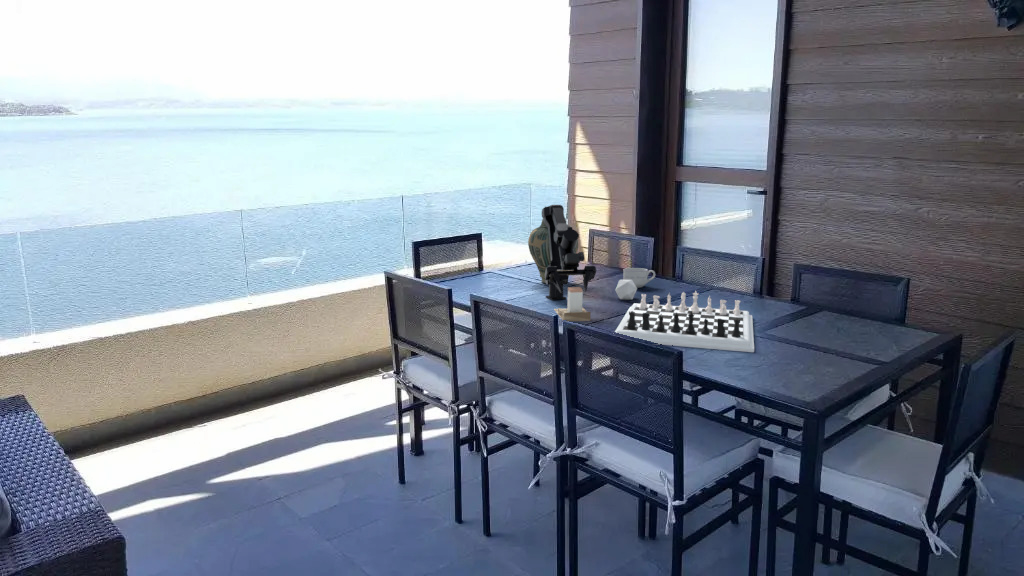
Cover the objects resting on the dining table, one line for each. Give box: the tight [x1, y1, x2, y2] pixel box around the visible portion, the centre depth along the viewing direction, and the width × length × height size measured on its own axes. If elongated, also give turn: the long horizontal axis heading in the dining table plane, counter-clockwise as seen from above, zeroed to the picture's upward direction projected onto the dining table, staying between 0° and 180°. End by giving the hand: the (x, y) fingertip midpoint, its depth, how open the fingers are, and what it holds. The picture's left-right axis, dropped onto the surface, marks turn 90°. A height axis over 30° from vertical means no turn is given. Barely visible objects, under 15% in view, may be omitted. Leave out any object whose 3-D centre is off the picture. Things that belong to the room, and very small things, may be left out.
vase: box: [527, 217, 579, 284], centre depth 337 cm, size 22×22×30 cm
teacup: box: [622, 267, 656, 289], centre depth 331 cm, size 14×11×8 cm
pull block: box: [566, 286, 584, 313], centre depth 275 cm, size 4×4×11 cm
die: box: [614, 279, 638, 300], centre depth 308 cm, size 8×9×10 cm
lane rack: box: [553, 307, 592, 322], centre depth 280 cm, size 19×10×4 cm, turn 8°
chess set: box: [614, 290, 755, 353], centre depth 263 cm, size 45×45×11 cm
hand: (573, 291), depth 276 cm, fingers open, 9 cm apart
